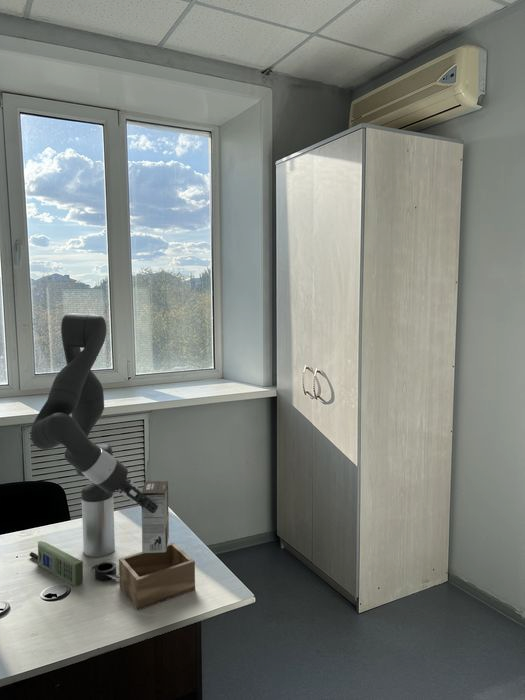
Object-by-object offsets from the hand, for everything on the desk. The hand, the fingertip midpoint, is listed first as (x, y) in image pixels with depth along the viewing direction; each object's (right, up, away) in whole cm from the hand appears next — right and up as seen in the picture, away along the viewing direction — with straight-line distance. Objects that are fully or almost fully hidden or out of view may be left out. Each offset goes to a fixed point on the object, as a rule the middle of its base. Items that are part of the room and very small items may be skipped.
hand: (148, 504), depth 137 cm
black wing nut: (-14, -23, +10) cm, 29 cm away
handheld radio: (-30, -23, +13) cm, 40 cm away
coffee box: (+1, -12, +2) cm, 12 cm away
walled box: (+1, -24, +3) cm, 24 cm away
